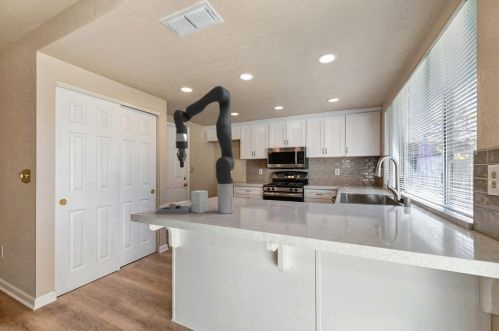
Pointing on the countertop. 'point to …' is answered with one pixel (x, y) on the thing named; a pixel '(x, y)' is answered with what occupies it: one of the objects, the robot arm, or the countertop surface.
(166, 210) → the breaker panel
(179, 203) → the breaker rocker
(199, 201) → the supplement box
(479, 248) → the countertop surface
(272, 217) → the countertop surface
